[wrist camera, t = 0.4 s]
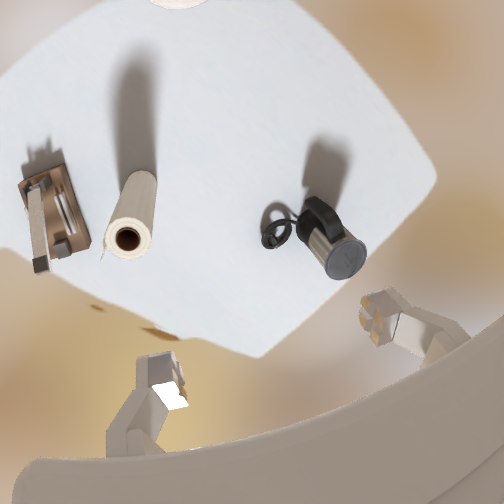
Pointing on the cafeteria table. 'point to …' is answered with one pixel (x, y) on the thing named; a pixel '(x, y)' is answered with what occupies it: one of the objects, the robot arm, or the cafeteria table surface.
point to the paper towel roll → (132, 218)
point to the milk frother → (323, 239)
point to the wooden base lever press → (59, 212)
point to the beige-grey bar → (38, 230)
